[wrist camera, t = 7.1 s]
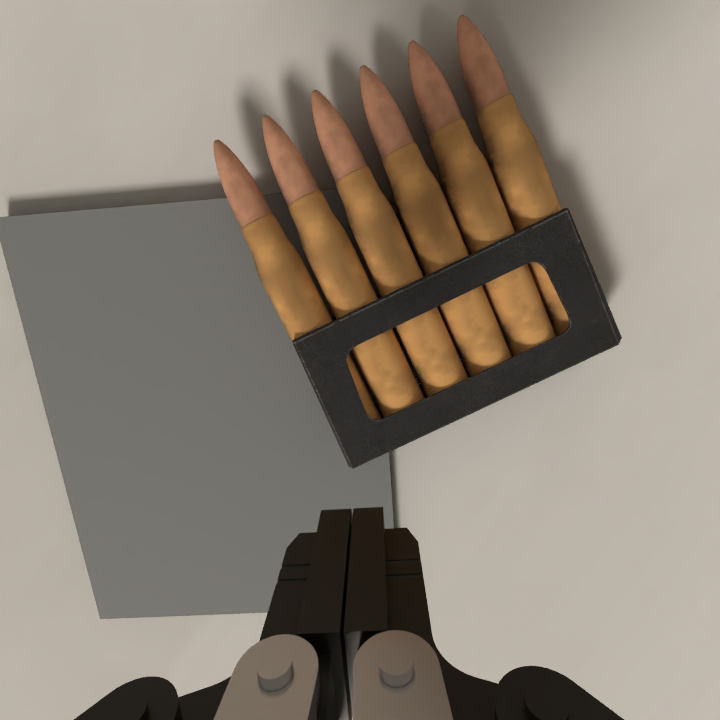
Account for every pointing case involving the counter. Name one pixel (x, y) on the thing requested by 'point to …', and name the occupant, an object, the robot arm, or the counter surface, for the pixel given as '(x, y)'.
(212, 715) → the robot arm
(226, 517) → the slate mat
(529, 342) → the ammunition clip
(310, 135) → the counter surface
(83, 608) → the counter surface
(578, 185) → the counter surface
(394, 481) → the counter surface
